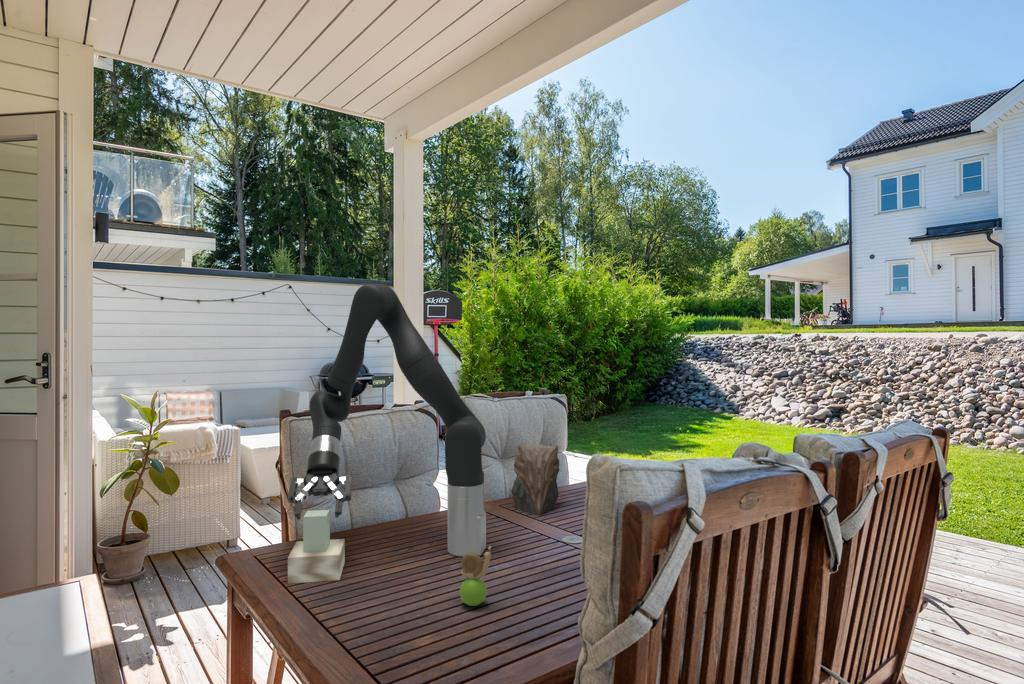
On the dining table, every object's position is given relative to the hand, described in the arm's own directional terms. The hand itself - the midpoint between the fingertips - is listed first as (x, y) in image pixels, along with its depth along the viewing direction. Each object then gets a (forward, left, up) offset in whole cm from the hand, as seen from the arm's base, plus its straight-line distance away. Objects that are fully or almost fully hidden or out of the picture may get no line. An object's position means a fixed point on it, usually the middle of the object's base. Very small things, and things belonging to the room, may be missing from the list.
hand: (317, 516), depth 139 cm
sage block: (0, +1, -7) cm, 7 cm away
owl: (-42, -59, -13) cm, 74 cm away
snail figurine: (-40, +11, -13) cm, 44 cm away
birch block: (0, +1, -13) cm, 13 cm away
